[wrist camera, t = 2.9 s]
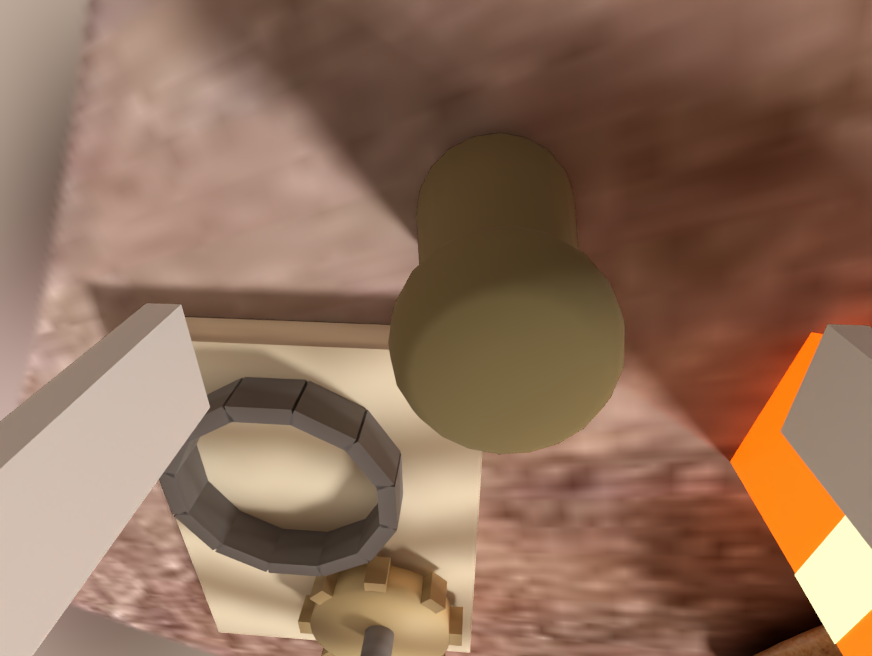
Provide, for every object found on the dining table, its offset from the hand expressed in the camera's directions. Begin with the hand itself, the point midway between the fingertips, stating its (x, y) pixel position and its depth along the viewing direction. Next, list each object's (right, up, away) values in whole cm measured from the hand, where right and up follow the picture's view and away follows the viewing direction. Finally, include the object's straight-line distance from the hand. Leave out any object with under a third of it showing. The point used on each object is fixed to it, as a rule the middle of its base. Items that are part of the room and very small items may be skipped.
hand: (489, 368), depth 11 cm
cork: (+1, +5, +9) cm, 10 cm away
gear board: (-7, -8, +17) cm, 20 cm away
